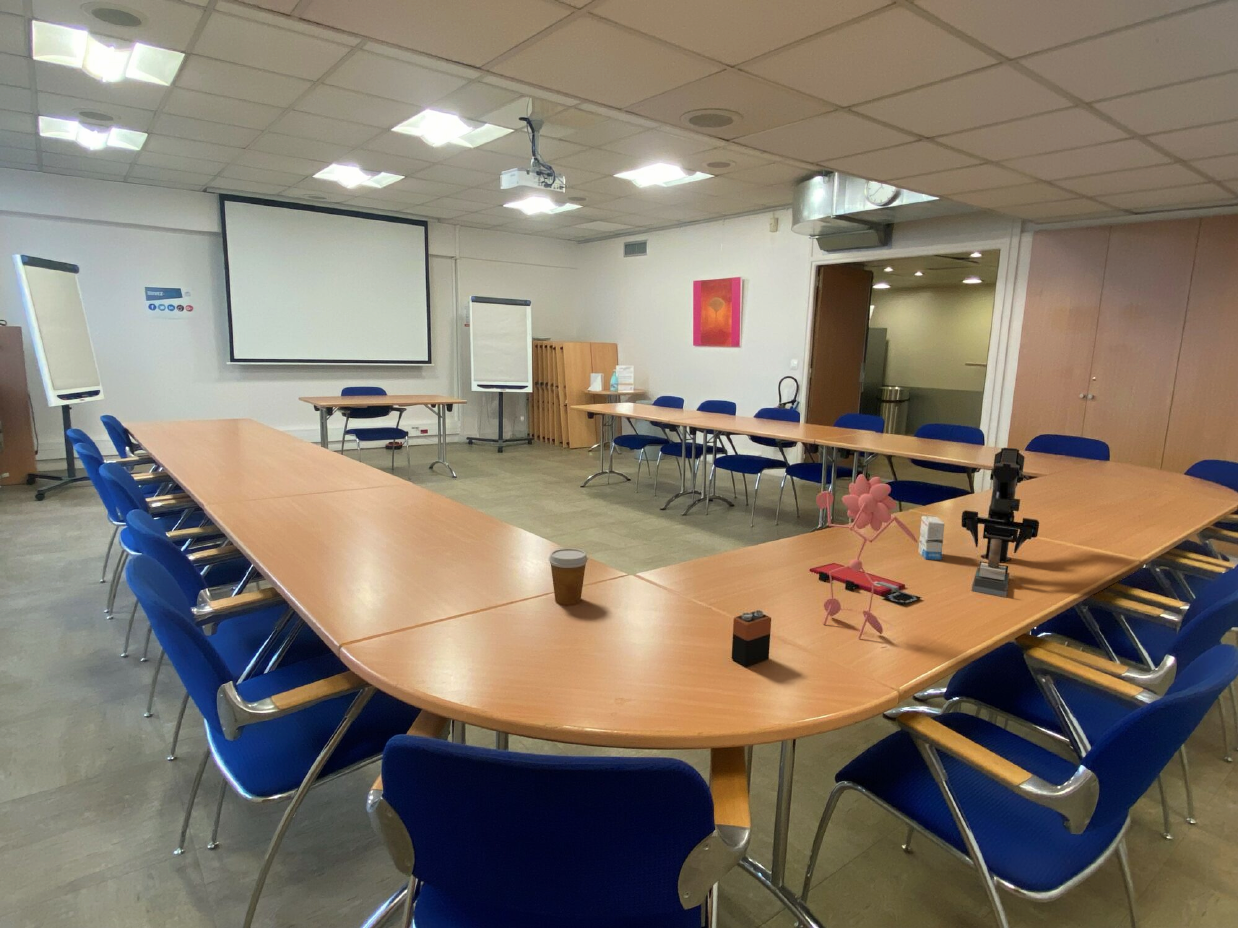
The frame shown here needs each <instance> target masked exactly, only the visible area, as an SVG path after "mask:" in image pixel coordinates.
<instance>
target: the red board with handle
mask: <svg viewBox="0 0 1238 928" xmlns="http://www.w3.org/2000/svg"><path fill="white" fill-rule="evenodd" d="M845 566H846V565H843V564H839V563H836V562H832V563H827V564H824V565H819V566H816V567H810V568H809V573H810V572H811V573H813V572H814V573H813V574H815V573H816V574H815V575H818V574H819V575H818V581H819V582H823V583H827V580H830V575H829V572H830V571H832V570H836V569H839V568H842V567H845ZM866 573H867V575H868V576H869V577H870V579H871V580H872V581H873V583H874V591H873V594H876V595H878V596H880V597H881V598H884V599H886V600H887V599H888V600H891V601H894V602H896V603H900V604H902V605H905V604H907V603H908V604H909V603H910V602H914V601H916V600H920V599H922V596H921V597H920V596H917V595H915V594H913V593H908V592H905V591H902V589H905V588H906V584H905V583H901V582H899V581H896V580H892V579H888V578H885V577H883V576H879V575H875V574H872V573H869V572H866ZM831 577H832V580H834V581H835V582H838V583H839V582H840V583H842V584H844V585H845V587H844V590H846V591H848V592H854V590H855V589H859V590H863V591H866V592H869V593H872V586H873V584H872V583H871V581H870V580H869V579H868V577H867V576H866V575H865V573H864V572H863V571H862V570H859V571H854V570H852V569H851V568H850V567H847V568H844V569H841V570H838V571H834V572H831ZM854 588H855V589H854Z"/></svg>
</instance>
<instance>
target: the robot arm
mask: <svg viewBox="0 0 1238 928" xmlns="http://www.w3.org/2000/svg"><path fill="white" fill-rule="evenodd" d="M1000 449H1001V450H1000V451H999V452H996V453H995V454H994V460H993V468H991V471H990V479H989V480H990V481H992V492H991V499H990V504H989V507H988V512H987V513H988V514H987V517H985V516H979V511H976V510H967V509H965V510H963V511H962V513H961V527H962V528H963V529H964V528H965V530H966V531H968V532H970V534H971V536H972V538H973V542H974V545H975V548H978V545H979V525H983V530H982V531H983V532H982V539H984V540H985V539H986V540H987V542H986V550H985V554H981V555H980V558H983V559H988V560H989V552H990V544H991V539H1000V540H1002V544H1001V552H1000V560H999V563H1004V562H1008V561H1011V560H1012V559H1013V557H1009V556H1008V552H1009V545H1010V543H1011V544H1014V543H1015V545H1014V550H1013V553H1014V554H1017V552H1018V551H1019V549H1020V548H1021V546H1022V545H1023V544H1024V543H1025V542H1026V541H1027V540H1031V539H1032V538H1033V539H1035V538H1038V534H1039V530H1040V521H1039V520H1038V519H1036V518H1028V517H1023V518H1022V522H1020V521H1015V516H1016V515H1015V512H1019V511H1020V505H1021V499H1020V498H1015V497H1016V489H1017V487H1018V484H1021V483H1022V482H1024V476H1025V475H1024V474H1023V472H1024V464H1025V459H1026V457H1025V456H1024V455H1023V454H1022V453H1020V449H1018V448H1014V447H1013V448H1012V447H1001V448H1000Z"/></svg>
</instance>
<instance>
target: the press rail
mask: <svg viewBox="0 0 1238 928" xmlns="http://www.w3.org/2000/svg"><path fill="white" fill-rule="evenodd" d="M981 563H987V564H988V562H986V561H979V567H976V570H975V571H976V572H975V574H974V578H973V581H972V584H971V592H975V593H980V594H981V593H982V594H985V595H992V596H998V597H1001V598H1002V597H1003V598H1007V594H1008V588H1009V579H1010V572H1008V571H1009V565H1004V564H1000V563H999V566H1005V567H1006V571H1005V578H1004V580H999V579H994V578H988V577H982V576H979V572H980V566H981Z"/></svg>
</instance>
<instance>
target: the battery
mask: <svg viewBox="0 0 1238 928" xmlns="http://www.w3.org/2000/svg"><path fill="white" fill-rule="evenodd" d="M771 628H772V617H771V616H770V615H767V614H764V611H763V610H759V609H757V610H755V611H752V612H742V613H741V615H738V616H734V618H733V624H732V641H731V642H732V643H731V645H732V646H731V660H733V661H734V660H735V661H734V662H737V663H738V664H739V665H742V666H743V667H746V668H747V667H750V666H752V665H755V663H756V664H758V662H759V663H761V662H764V661H766V660H768V659H769V658H770V646H771Z"/></svg>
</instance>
